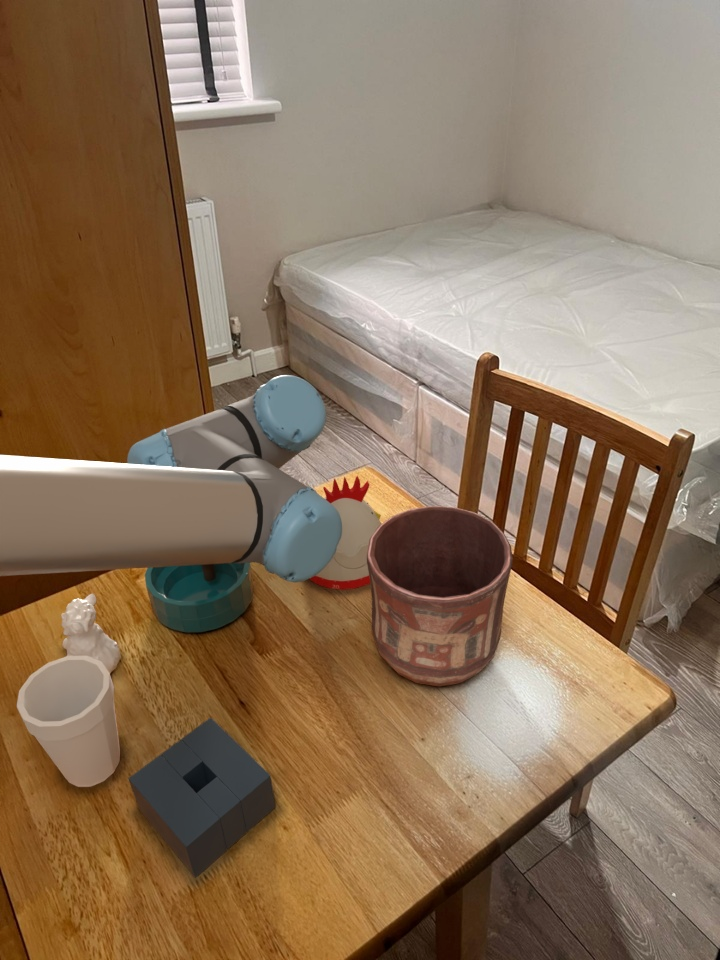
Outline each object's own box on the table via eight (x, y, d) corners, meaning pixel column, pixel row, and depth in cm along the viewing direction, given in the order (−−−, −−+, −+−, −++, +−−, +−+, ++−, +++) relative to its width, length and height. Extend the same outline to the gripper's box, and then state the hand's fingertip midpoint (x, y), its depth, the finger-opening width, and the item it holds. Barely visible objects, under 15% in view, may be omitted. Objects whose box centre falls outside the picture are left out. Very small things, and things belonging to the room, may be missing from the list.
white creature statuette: (68, 641, 100) (45, 576, 94) (131, 638, 101) (112, 573, 94) (46, 697, 93) (19, 631, 86) (115, 694, 93) (93, 628, 86)
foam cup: (77, 722, 90) (48, 649, 82) (147, 734, 88) (124, 661, 80) (33, 792, 82) (-2, 719, 74) (109, 807, 80) (80, 733, 73)
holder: (195, 878, 74) (185, 847, 70) (139, 810, 80) (127, 778, 76) (275, 807, 80) (270, 775, 76) (217, 749, 86) (210, 716, 83)
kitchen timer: (399, 579, 109) (400, 498, 101) (310, 597, 107) (303, 516, 98) (374, 523, 120) (373, 447, 112) (292, 539, 118) (284, 461, 109)
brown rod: (204, 582, 106) (180, 455, 93) (203, 574, 107) (178, 448, 95) (217, 579, 106) (194, 453, 94) (215, 572, 108) (192, 446, 95)
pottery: (351, 621, 102) (347, 520, 92) (465, 592, 107) (474, 493, 96) (395, 722, 89) (396, 616, 78) (524, 684, 93) (542, 579, 83)
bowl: (157, 647, 99) (149, 615, 96) (149, 578, 111) (141, 547, 107) (262, 622, 103) (258, 590, 99) (244, 557, 114) (240, 527, 111)
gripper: (206, 512, 80) (152, 559, 99) (307, 458, 88) (239, 511, 108) (171, 454, 80) (123, 511, 99) (275, 405, 89) (212, 467, 108)
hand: (183, 511), depth 104 cm, fingers closed on brown rod, 2 cm apart
